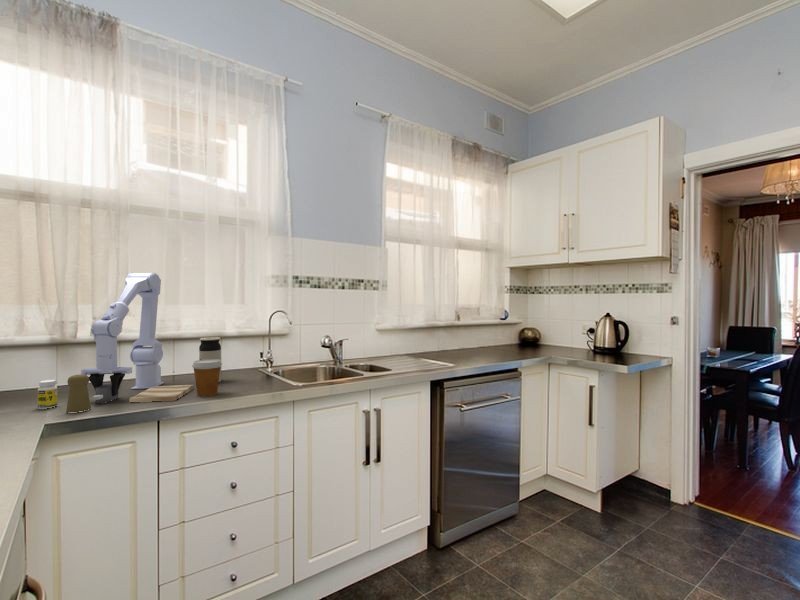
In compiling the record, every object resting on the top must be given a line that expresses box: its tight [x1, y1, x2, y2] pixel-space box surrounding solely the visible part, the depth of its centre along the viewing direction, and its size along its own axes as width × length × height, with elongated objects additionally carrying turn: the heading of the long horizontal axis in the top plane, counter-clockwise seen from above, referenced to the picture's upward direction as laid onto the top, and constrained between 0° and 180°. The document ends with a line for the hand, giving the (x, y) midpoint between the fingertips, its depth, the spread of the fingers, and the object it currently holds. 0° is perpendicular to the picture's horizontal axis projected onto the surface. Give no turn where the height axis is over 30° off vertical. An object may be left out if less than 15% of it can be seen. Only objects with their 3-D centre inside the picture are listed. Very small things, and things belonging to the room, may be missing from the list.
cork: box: [65, 373, 92, 413], centre depth 123 cm, size 6×6×11 cm
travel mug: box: [198, 336, 222, 383], centre depth 163 cm, size 8×8×18 cm
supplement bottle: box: [37, 379, 59, 410], centre depth 127 cm, size 5×5×8 cm
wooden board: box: [129, 384, 195, 403], centre depth 142 cm, size 18×14×2 cm
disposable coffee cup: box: [191, 359, 223, 397], centre depth 142 cm, size 10×10×12 cm
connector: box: [91, 382, 119, 404], centre depth 134 cm, size 11×4×5 cm, turn 10°
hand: (107, 395), depth 135 cm, fingers closed on connector, 4 cm apart
